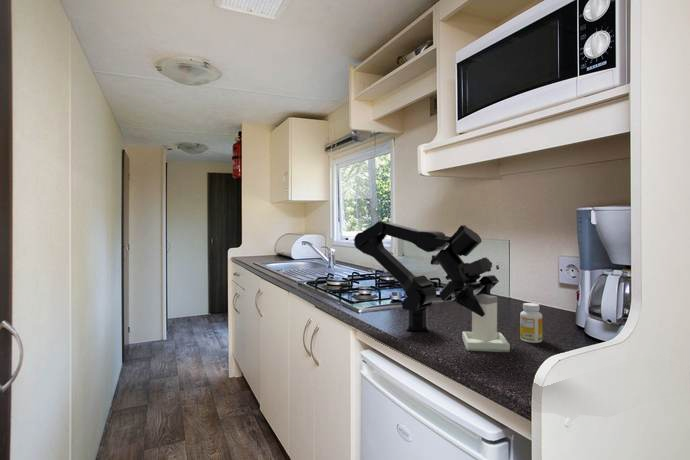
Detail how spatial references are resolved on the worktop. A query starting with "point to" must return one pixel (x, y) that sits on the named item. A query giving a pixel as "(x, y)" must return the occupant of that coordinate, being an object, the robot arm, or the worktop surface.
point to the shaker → (485, 319)
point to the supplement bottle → (531, 323)
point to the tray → (486, 343)
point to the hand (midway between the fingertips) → (489, 314)
